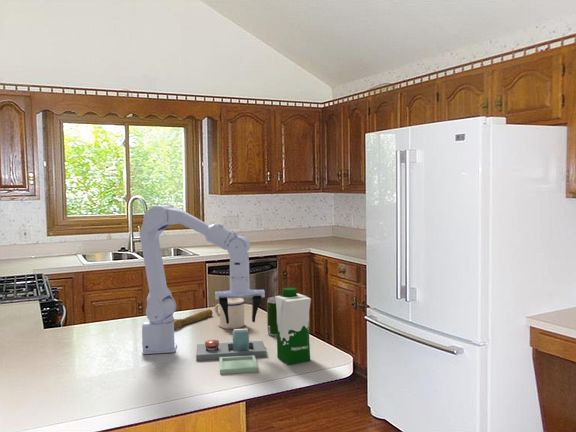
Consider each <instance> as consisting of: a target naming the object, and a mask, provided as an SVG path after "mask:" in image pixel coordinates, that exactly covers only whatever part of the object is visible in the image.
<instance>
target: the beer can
mask: <svg viewBox="0 0 576 432" xmlns="http://www.w3.org/2000/svg"><path fill="white" fill-rule="evenodd" d="M266 314H267V316H266V319H267V322H266V323H267V333H268V334H267V335H269V336H271V337H277V309H276V299H275V296H271V297H267V301H266Z"/></svg>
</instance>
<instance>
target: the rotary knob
mask: <svg viewBox="0 0 576 432" xmlns="http://www.w3.org/2000/svg"><path fill="white" fill-rule="evenodd" d="M249 331H250V330H249V329H248V328H236V329H233V331H232V342H233V349H232V352H233V351H250V348H249V342H250V337H249V336H250V334H249V333H250V332H249Z"/></svg>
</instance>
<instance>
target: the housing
mask: <svg viewBox="0 0 576 432" xmlns="http://www.w3.org/2000/svg"><path fill="white" fill-rule="evenodd" d="M250 349H252V350H250ZM230 350H232V351H230ZM195 352H196V353H195V359H196V361H208V360H209V361H211V360H219V357H233V356H249V355H255V358H260V357H262V358H263V357H267V350H266V347H265V344H264V340H253V341H252V340H251V341H250V340H249V351H233V341H232V342H219V346H218V347H217V350H214V351H207V347H205V343H201V344H200V343H199V344H196V351H195Z"/></svg>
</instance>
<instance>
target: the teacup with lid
mask: <svg viewBox="0 0 576 432" xmlns="http://www.w3.org/2000/svg"><path fill="white" fill-rule="evenodd" d="M227 299H228V317H229V323H228V324H227V323H226V317H225V314H224V311H223V309H222V307H221V305H220V302H219V301H218V303H217V304H216V305H214V312H215V314H216V317H218V318H219V326H220V327H221V328H222V329H228V330H234V329H242V328H243V327H244V326H245V303H246V302H245V298H227ZM218 308H219V310H218Z"/></svg>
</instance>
